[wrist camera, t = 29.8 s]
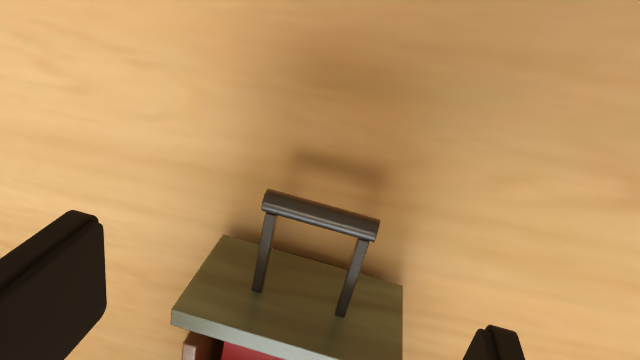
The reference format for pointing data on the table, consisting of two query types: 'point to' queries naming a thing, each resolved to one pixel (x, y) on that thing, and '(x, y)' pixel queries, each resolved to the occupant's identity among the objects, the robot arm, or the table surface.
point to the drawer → (291, 295)
